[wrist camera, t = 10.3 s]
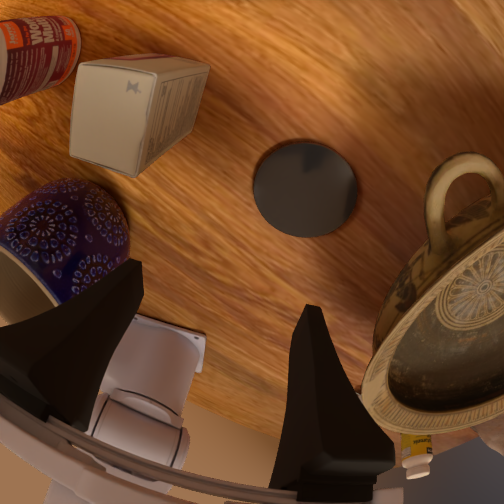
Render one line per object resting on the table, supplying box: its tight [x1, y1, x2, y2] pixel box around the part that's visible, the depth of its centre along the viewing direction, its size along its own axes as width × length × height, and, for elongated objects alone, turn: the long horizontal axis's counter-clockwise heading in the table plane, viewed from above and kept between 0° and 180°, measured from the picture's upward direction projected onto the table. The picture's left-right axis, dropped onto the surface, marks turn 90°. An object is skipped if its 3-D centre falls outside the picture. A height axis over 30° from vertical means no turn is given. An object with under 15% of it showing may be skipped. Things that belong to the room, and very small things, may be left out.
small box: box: [69, 53, 210, 178], centre depth 14 cm, size 5×4×8 cm
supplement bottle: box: [400, 433, 433, 479], centre depth 37 cm, size 5×5×10 cm
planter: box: [0, 178, 130, 325], centre depth 20 cm, size 11×11×11 cm
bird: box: [470, 414, 504, 456], centre depth 26 cm, size 5×14×15 cm, turn 157°
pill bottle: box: [0, 16, 81, 105], centre depth 11 cm, size 6×6×11 cm
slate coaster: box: [254, 141, 357, 237], centre depth 20 cm, size 7×7×1 cm
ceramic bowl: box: [361, 152, 504, 435], centre depth 17 cm, size 30×24×10 cm
